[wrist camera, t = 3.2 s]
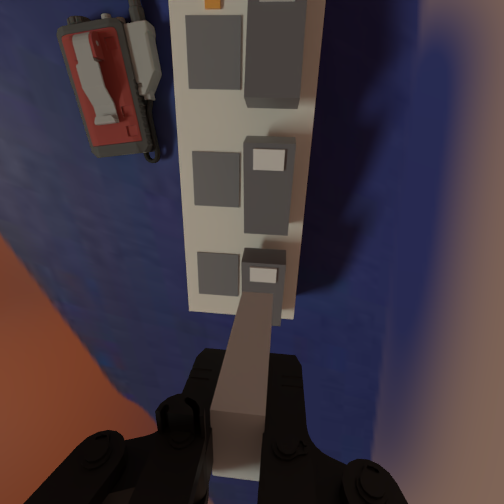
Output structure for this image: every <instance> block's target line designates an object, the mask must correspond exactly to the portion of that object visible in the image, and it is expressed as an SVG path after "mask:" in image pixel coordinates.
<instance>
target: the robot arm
mask: <svg viewBox="0 0 504 504" xmlns="http://www.w3.org/2000/svg"><path fill="white" fill-rule="evenodd" d="M272 304H273V294H270V293H256V292H242V295H241V298H240V302H239V305H238V309H237V313H236V316H235V320H234V324H233V327H232V331H231V335H230V338H229V342H228V346H227V349H226V350H220V349H209V348H205V349H204V350H203V351H202V352H201V353H200V354H199V355H198V356H197V357H196V360H195V362H194V365H193V367H192V370H191V372H190V375H189V378H188V380H187V382H186V385H185V387H184V390H183V392H182V394H176V395H174V396H171V397H169V398H167V399H166V400H165V401H163V402H162V403H161V404H160V405H159V407H158V408H157V410H156V411H155V413H156V421H157V428H158V431H157V432H155V433H153V434H150V435H147V436H143V437H139V438H134V439H129V440H124V438H123V436H122V435H121V434H120V433H118V432H117V431H112V430H106V431H101V432H97V433H95V434H93V435H91V436H89V437H87V438H86V439H85V440H84V441H83V442H82V443H80V444H79V445H78V446H77V447H76V448H75V449H74V450H73V451H72V453H70V455H69V456H68V457H67V458H66V459H65V460H64V461H63V462H62V463H61V464H60V465H59V466H58V467H57V468H56V469H55V471H54V472H53V473H52V474H51V475H50V476H49V477H48V478H47V479H46V480H45V481H44V482H43V483H42V484H41V486H40V487H39V488H38V489H37V490H36V491H35V492H34V493H33V494H32V495H31V496H30V497H29V499H28V500H27V501H26V502H25V503H24V504H207V503H208V496H209V480H210V475H211V471H212V472H213V475H215V476H223V477H230V478H238V479H246V480H254V481H259V489H258V503H257V504H408V503H407V501H406V499H405V497H404V496H403V494H402V492H401V490H400V488H399V486H398V485H397V483H396V482H395V480H394V479H393V478H392V476H391V475H390V473H389V472H387V471H386V470H385V469H383V467H381V466H380V465H379V464H377V463H375V462H372V461H370V460H367V459H356V460H353V461H351V462H349V463H348V465H346V464H344V463H342V462H339V461H337V460H335V459H333V458H331V457H329V456H327V455H326V454H324V453H322V452H321V451H320V450H319V449H318V448H317V447H316V446H315V445H314V443H313V442H312V441H311V439H310V437H309V434H308V431H307V425H306V413H305V401H304V390H303V380H302V366H301V364H300V362H299V361H298V359H297V358H296V356H295V355H286V354H275V353H270V339H271V321H272Z"/></svg>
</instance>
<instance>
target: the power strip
mask: <svg viewBox="0 0 504 504" xmlns="http://www.w3.org/2000/svg"><path fill="white" fill-rule="evenodd" d="M325 3H326V0H307V8H306V22H305V36H304V49H303V63H302V77H301V90H300V100H299V105H298V109H270V108H247V105H246V102H245V99H244V82H245V57H246V32H247V7H248V0H169V15H170V30H171V45H172V60H173V75H174V90H175V105H176V120H177V135H178V150H179V165H180V180H181V195H182V210H183V225H184V240H185V255H186V270H187V285H188V300H189V311H198V312H210V313H222V314H234V315H236V313H237V309H238V305H239V302H240V298H241V295H242V274H241V261H242V257H243V252H244V248H261V249H277V250H286V271H285V282H284V292H283V303H282V313H281V318H283V319H293V317H294V307H295V298H296V288H297V278H298V268H299V258H300V248H301V239H302V229H303V219H304V209H305V199H306V190H307V180H308V170H309V160H310V150H311V140H312V131H313V121H314V111H315V101H316V91H317V81H318V72H319V62H320V52H321V42H322V32H323V22H324V13H325ZM246 136H277V137H295V139H296V151H295V162H294V172H293V183H292V194H291V205H290V215H289V226H288V236H283V235H266V234H249V233H244V177H243V142H244V140H245V138H246Z"/></svg>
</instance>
